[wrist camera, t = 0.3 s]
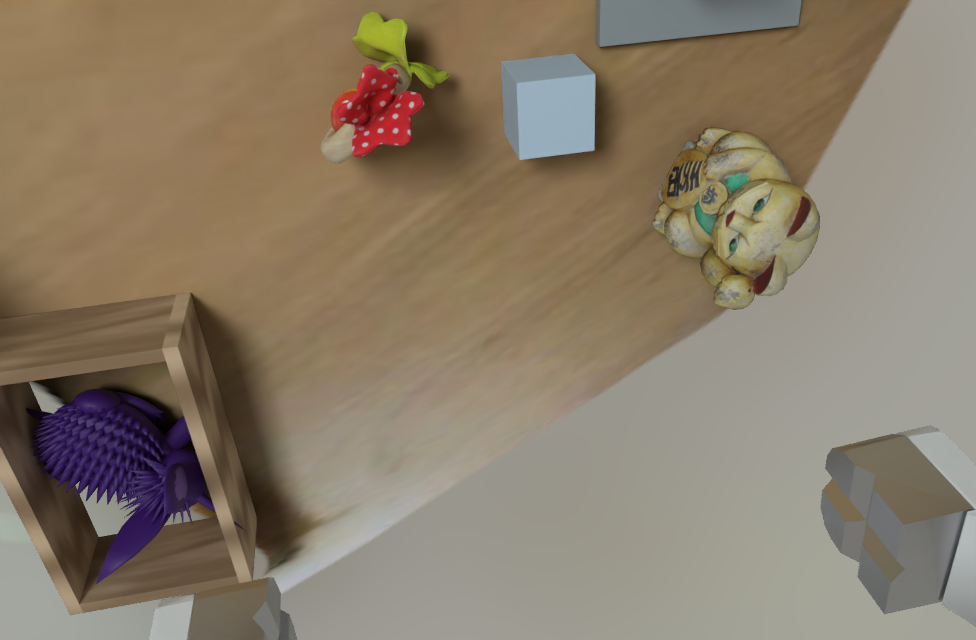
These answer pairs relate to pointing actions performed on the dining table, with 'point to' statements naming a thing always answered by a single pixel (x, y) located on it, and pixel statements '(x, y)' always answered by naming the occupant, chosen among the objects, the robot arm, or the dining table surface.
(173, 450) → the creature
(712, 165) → the decorative figurine
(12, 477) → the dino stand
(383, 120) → the bird rattle
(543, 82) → the blue brick
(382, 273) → the dining table surface
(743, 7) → the plate
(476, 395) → the dining table surface
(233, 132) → the dining table surface
